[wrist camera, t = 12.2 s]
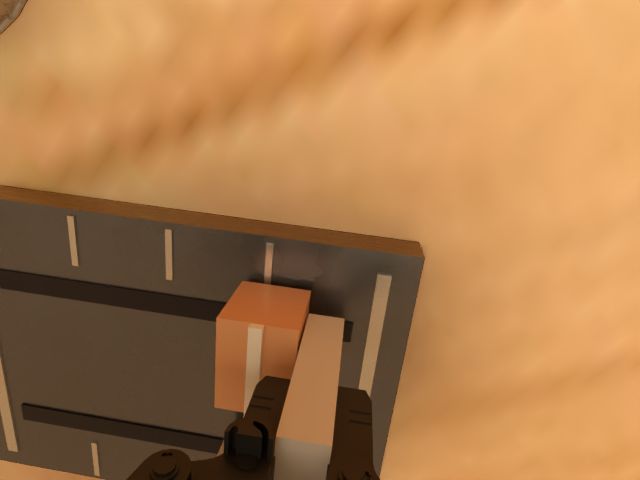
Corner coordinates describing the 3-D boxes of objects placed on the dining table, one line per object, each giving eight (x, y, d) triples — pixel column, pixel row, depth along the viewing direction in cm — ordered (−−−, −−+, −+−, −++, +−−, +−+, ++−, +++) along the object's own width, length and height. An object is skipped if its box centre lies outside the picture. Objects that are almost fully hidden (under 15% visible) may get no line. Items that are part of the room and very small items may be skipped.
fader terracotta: (238, 358, 19) (211, 412, 15) (242, 280, 17) (213, 322, 14) (302, 368, 19) (288, 426, 15) (311, 290, 17) (297, 335, 14)
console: (20, 431, 25) (-9, 459, 23) (-25, 182, 20) (-68, 190, 18) (368, 494, 24) (368, 530, 22) (418, 242, 19) (424, 258, 17)
